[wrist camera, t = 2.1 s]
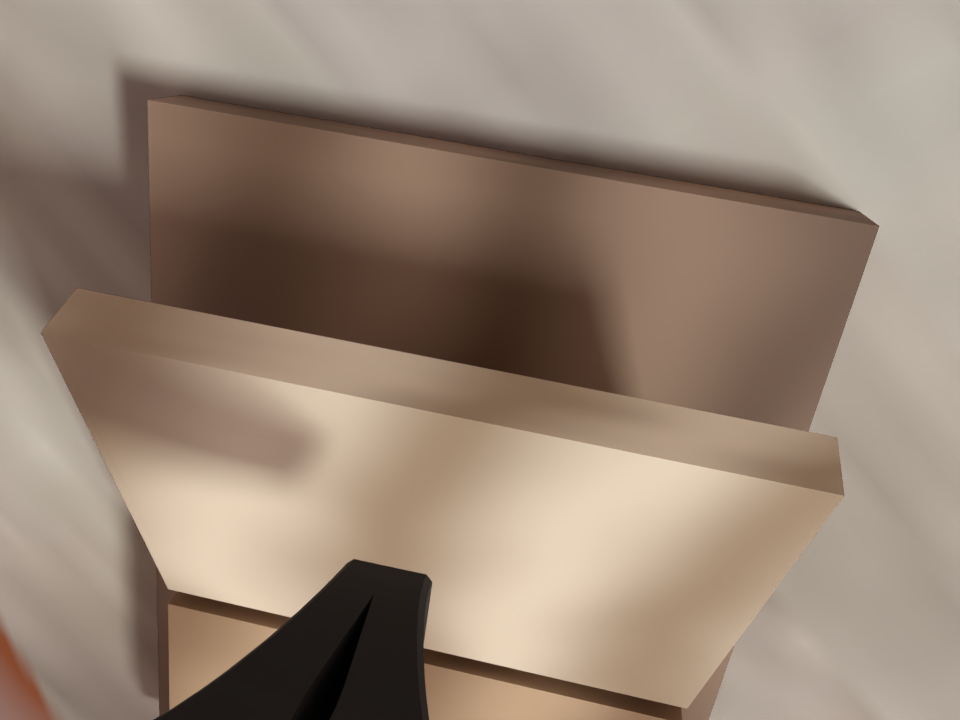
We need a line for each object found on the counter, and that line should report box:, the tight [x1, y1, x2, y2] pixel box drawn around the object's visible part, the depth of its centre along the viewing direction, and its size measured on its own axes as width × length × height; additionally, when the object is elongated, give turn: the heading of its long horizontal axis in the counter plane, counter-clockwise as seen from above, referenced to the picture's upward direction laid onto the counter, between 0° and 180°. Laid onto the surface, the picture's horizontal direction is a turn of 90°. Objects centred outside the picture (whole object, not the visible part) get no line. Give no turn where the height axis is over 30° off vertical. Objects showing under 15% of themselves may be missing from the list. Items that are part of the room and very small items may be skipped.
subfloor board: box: [147, 95, 879, 720], centre depth 21 cm, size 16×20×3 cm
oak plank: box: [41, 288, 844, 709], centre depth 18 cm, size 14×10×1 cm
